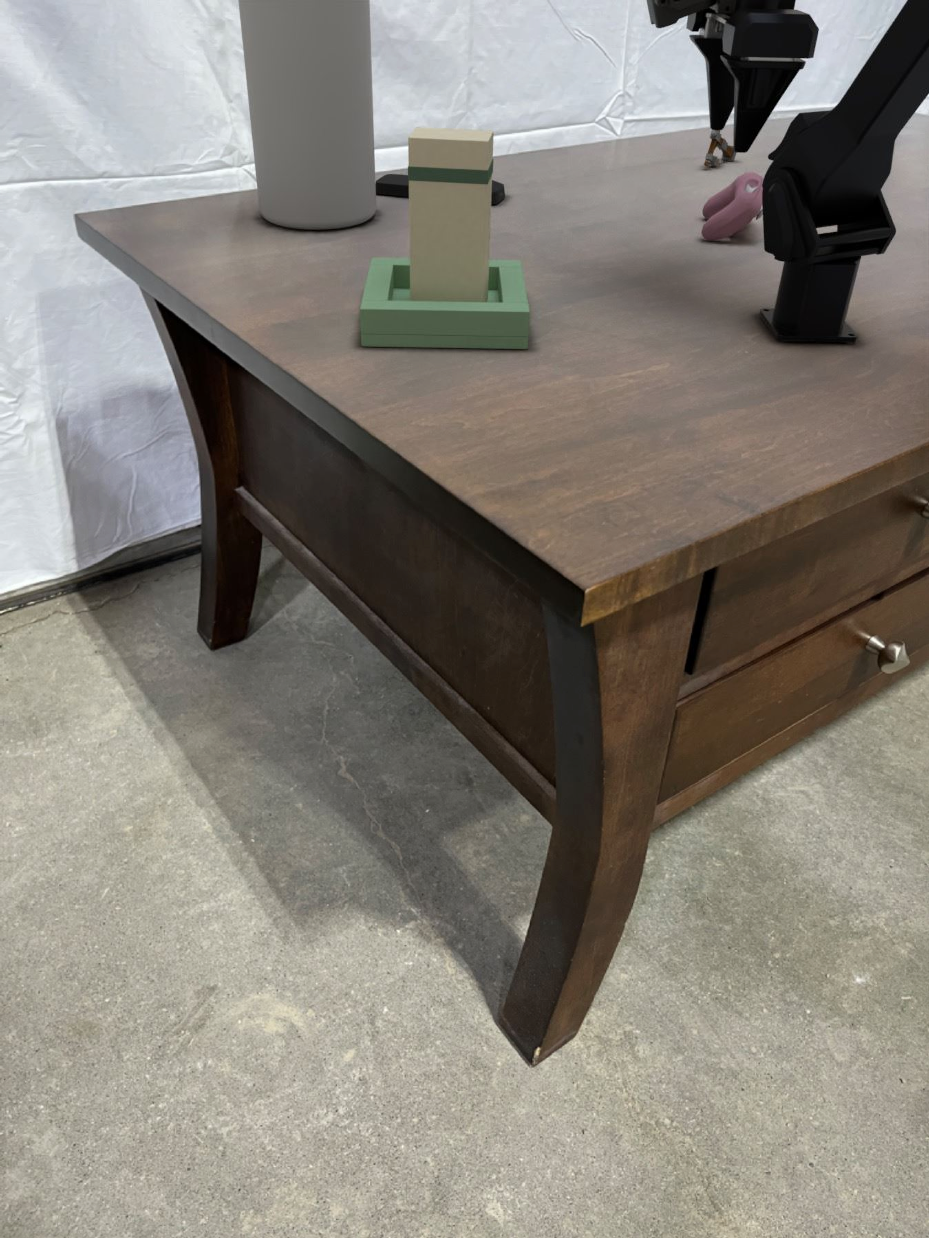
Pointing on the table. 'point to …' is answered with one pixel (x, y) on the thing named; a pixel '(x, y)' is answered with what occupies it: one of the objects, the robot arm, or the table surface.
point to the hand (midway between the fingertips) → (727, 140)
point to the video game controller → (733, 207)
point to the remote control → (400, 187)
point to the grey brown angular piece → (722, 145)
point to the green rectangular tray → (443, 311)
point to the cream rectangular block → (449, 213)
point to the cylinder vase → (311, 110)
